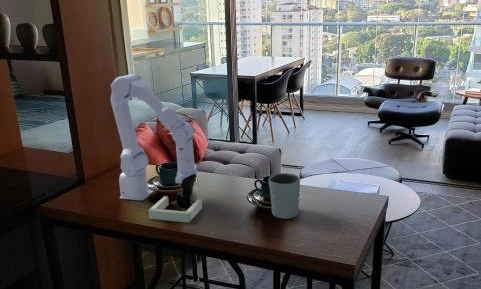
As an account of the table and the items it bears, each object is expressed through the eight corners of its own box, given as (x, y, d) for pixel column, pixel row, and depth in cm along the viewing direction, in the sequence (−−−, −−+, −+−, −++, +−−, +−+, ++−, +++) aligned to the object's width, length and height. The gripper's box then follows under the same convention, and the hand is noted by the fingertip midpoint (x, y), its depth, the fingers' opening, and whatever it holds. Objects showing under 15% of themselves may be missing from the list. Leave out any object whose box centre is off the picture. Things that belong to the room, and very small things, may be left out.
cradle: (149, 218, 152) (148, 210, 151) (164, 204, 162) (164, 196, 161) (189, 222, 148) (188, 214, 147) (202, 207, 158) (201, 199, 157)
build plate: (164, 204, 164) (163, 192, 162) (180, 198, 169) (179, 186, 167) (187, 213, 155) (186, 201, 154) (204, 206, 160) (203, 194, 159)
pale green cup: (281, 222, 145) (281, 186, 142) (263, 211, 153) (262, 177, 150) (307, 213, 150) (307, 179, 147) (287, 203, 158) (287, 170, 155)
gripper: (187, 166, 152) (191, 204, 156) (204, 152, 165) (206, 188, 169) (168, 164, 154) (171, 202, 158) (185, 151, 168) (188, 186, 171)
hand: (188, 195), depth 164 cm, fingers closed
